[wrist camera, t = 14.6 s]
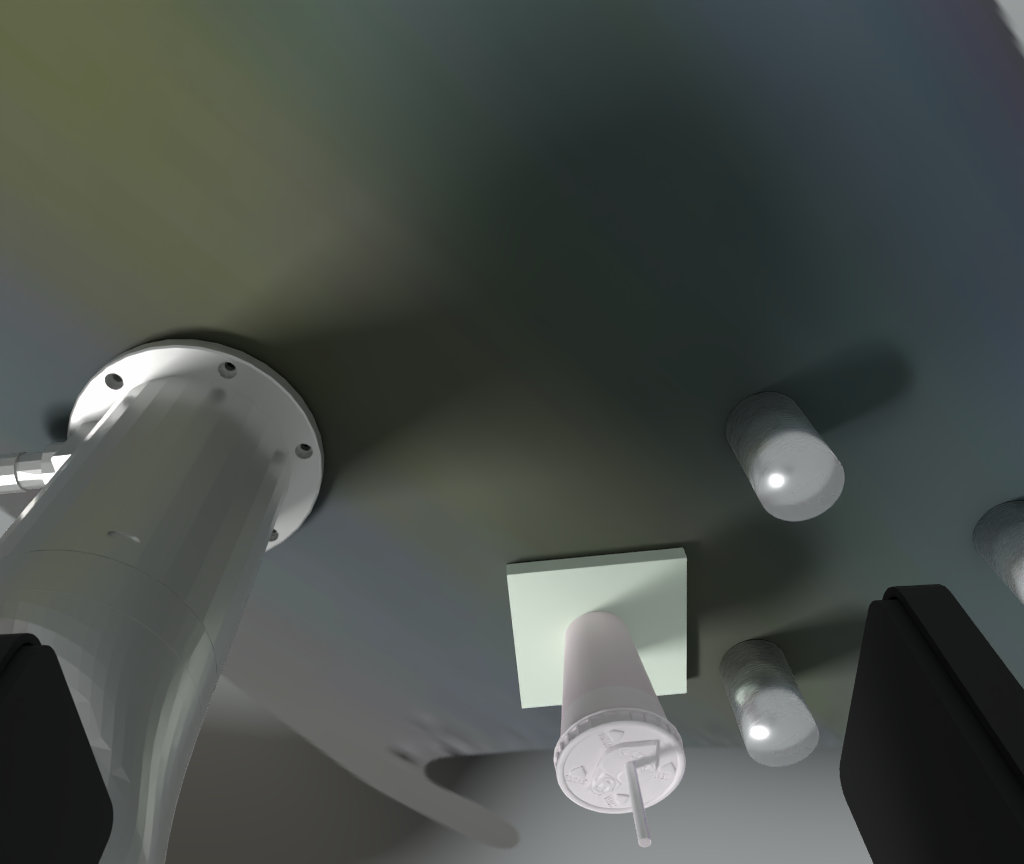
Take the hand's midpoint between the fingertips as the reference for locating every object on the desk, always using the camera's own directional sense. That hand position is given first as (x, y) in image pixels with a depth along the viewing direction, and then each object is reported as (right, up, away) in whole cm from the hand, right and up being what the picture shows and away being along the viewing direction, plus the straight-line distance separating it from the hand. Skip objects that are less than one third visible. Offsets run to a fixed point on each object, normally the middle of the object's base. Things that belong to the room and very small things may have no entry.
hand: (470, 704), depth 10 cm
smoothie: (+5, -9, +41) cm, 42 cm away
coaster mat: (+6, -8, +42) cm, 43 cm away
